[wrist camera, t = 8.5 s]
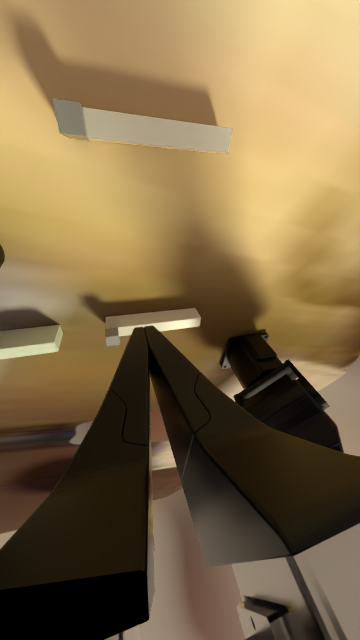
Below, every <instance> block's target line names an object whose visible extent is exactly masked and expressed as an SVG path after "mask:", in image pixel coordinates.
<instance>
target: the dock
mask: <svg viewBox="0 0 360 640" xmlns="http://www.w3.org/2000/svg"><path fill="white" fill-rule="evenodd" d="M52 100H53V104H54V109H55V113H56V118H57V122H58V127H59V131H60V133H61V134H63V135H64V136H66V137H68V138H73V139H82V140H92V141H101V142H111V143H120V144H130V145H139V146H149V147H159V148H168V149H178V150H187V151H197V152H206V153H216V154H218V153H228V152H229V146H230V140H231V134H232V128H226V127H219V126H212V125H205V124H198V123H191V122H184V121H177V120H170V119H163V118H156V117H149V116H141V115H134V114H127V113H120V112H113V111H106V110H99V109H92V108H85V107H82V105H81V103H80V102H75V101H68V100H61V99H54V98H52ZM200 321H201V317H200V315H199V314H198V312H197V310H196V308H188V309H178V310H168V311H159V312H149V313H139V314H129V315H119V316H109V317H106V328H105V338H106V343H107V346H113V345H120V336H127V335H131V334H132V332H133V329H134V328H135V327H145V326H151V325H153V326H154V327H155V328H156V329H158V330H159V331H166V330H174V329H182V328H190V327H198V326H200Z"/></svg>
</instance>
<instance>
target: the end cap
mask: <svg viewBox="0 0 360 640" xmlns="http://www.w3.org/2000/svg"><path fill="white" fill-rule="evenodd" d="M4 259H5V254H4V251H3V248H2V247H1V245H0V267H1V266H2V264H3V262H4Z"/></svg>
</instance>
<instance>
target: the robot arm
mask: <svg viewBox="0 0 360 640" xmlns="http://www.w3.org/2000/svg"><path fill="white" fill-rule="evenodd" d="M268 337H269V335H268V334H267V333H260V334H253V335H247V336H240V337H233V338H230V339H229V341H228V344H227V347H226V351H225V354H224V357H223V361H222V364H221V367H222V369H226V368H232V370H233V371H234V373H235V375H236V376H237V378H238V380H239V382H240V383H241V385H242V387H243V388H244V390H243V391H242V392H240V393H239V394H236V395H234V398H235V401H236V402H234V401H233V400H232V399H231V398H229V397H228V396H227V395H226V394H224V393H223V392H222V391H221V390H220V389H218V388H217V387H216V386H215V385H214V384H213V383H212V382H211V381H209V380H208V379H207V378H206V377H205V376H204V375H203V374H202V373H201V372H200V371H199V370H198V369H197V368H196V367H195V366H194V365H193V364H192V363H191V362H190V361H189V360H188V359H187V358H186V357H185V356H184V355H183V354H182V353H181V352H180V351H179V350H178V349H177V348H176V347H175V346H174V345H173V344H172V343H171V342H170V341H169V340H168V339H167V338H166V337H165V336H164V335H163V334H162V333H161V332H160V331H159V330H158V329H156V328H155V327H154V326H153V325H151V326H145V327H135V328H134V329H133V332H132V334H131V336H130V339H129V341H128V344H127V346H126V348H125V351H124V353H123V356H122V358H121V360H120V363H119V365H118V368H117V370H116V372H115V375H114V377H113V380H112V382H111V384H110V387H109V390H108V391H107V394H106V396H105V398H104V401H103V403H102V405H101V407H100V409H99V412H98V414H97V415H96V417H95V419H94V421H93V423H92V425H91V427H90V429H89V430H88V432H87V434H86V436H85V437H84V439H83V441H82V443H81V444H80V446H79V448H78V450H77V451H76V453H75V455H74V457H73V458H72V460H71V462H70V464H69V466H68V467H67V469H66V471H65V472H64V474H63V476H62V477H61V479H60V480H59V482H58V483H57V485H56V486H55V488H54V489H53V491H52V492H51V493H50V494H49V496H48V497H47V498H46V499H45V500H44V501H43V503H42V504H41V505H40V506H39V507H38V508H37V509H36V510H35V511H34V513H33V514H32V515H31V516H30V517H29V518H28V519H27V520H26V521H25V522H24V524H23V525H22V526H21V527H20V528H19V529H18V530H17V531H16V533H15V534H14V535H13V536H12V537H11V538H10V539H9V540H8V541H7V542H6V544H5V545H4V546H3V547H2V548H1V549H0V640H141V627H140V624H142V623H144V622H146V621H148V620H149V616H150V611H151V606H152V601H153V595H154V591H155V590H154V550H153V508H152V507H153V505H152V460H151V417H150V377H151V381H152V384H153V387H154V391H155V394H156V398H157V401H158V404H159V408H160V411H161V415H162V418H163V421H164V425H165V428H166V432H167V435H168V438H169V442H170V445H171V449H172V452H173V455H174V459H175V462H176V466H177V469H178V472H179V476H180V479H181V482H182V486H183V490H184V493H185V496H186V500H187V503H188V506H189V510H190V513H191V517H192V520H193V524H194V527H195V530H196V533H197V537H198V541H199V544H200V547H201V550H202V554H203V558H204V561H205V564H206V567H214V566H222V565H229V564H232V567H233V570H234V573H235V577H236V580H237V583H238V586H239V590H240V593H241V597H242V600H243V602H242V603H240V604H238V605H237V610H238V614H239V618H240V621H241V625H242V628H243V632H244V635H245V640H360V456H354V455H349V454H345V453H344V451H343V447H342V443H341V439H340V435H339V431H338V427H337V425H336V424H335V422H334V421H333V420H332V419H331V418H330V417H329V415H328V414H327V413H326V412H325V411H324V410H325V409H326V408H328V407H329V405H328V404H327V402H326V401H325V400H324V399H323V398H322V397H321V395H320V394H319V393H318V392H317V391H316V390H315V389H314V388H313V386H312V385H311V384H310V383H309V382H308V381H307V380H306V379H305V377H304V376H303V375H302V374H301V373H300V372H299V371H298V370H297V369H296V367H295V366H294V365H293V364H292V363H291V362H290V361H289V360H286V361H285V363H283V364H282V362H281V361H280V360H279V359H278V358H277V354H276V353H275V352H274V351H273V349H272V348H271V347H270V346H269V345H268V343H267V342H266V341H267V339H268ZM149 372H150V374H149ZM296 378H299V379H297V380H296Z"/></svg>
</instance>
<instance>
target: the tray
mask: <svg viewBox="0 0 360 640" xmlns="http://www.w3.org/2000/svg"><path fill="white" fill-rule="evenodd" d="M62 336H63V332H62V330H61V327H60V325H52V326H43V327H33V328H24V329H14V330H5V331H0V359H7V358H14V357H21V356H29V355H36V354H44V353H51V352H58V350H59V347H60V343H61V339H62Z"/></svg>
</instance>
